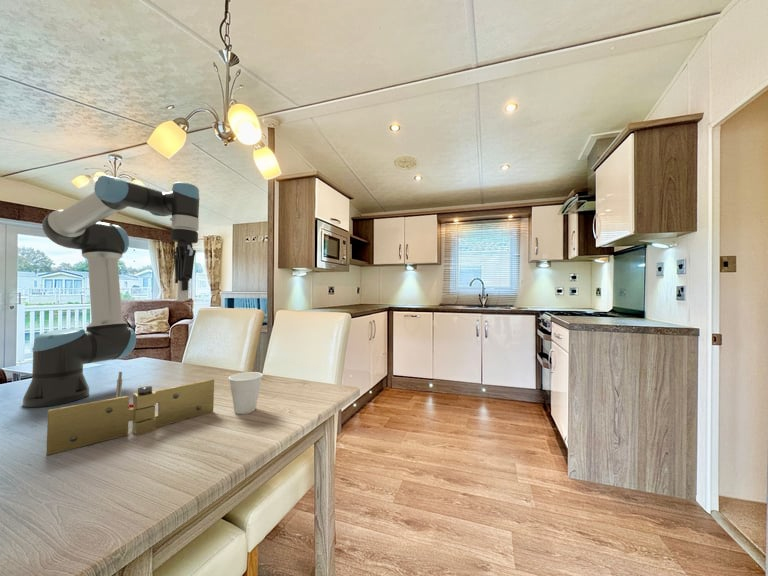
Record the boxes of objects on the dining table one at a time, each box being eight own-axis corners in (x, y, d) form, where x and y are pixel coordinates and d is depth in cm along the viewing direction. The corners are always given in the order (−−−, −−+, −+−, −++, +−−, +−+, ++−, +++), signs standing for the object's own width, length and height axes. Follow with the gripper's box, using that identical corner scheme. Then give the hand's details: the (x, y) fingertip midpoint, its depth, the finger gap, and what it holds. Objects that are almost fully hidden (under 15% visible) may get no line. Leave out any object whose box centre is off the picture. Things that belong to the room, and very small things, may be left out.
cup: (222, 410, 94) (223, 375, 94) (254, 402, 101) (254, 370, 101) (234, 420, 87) (235, 382, 87) (267, 410, 94) (268, 376, 94)
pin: (135, 428, 79) (136, 388, 79) (149, 425, 82) (150, 385, 82) (138, 432, 77) (139, 390, 78) (152, 428, 80) (153, 387, 80)
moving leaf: (47, 450, 68) (48, 408, 69) (151, 425, 82) (152, 389, 82) (45, 457, 66) (47, 413, 66) (154, 430, 79) (155, 393, 80)
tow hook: (132, 405, 98) (101, 415, 89) (135, 365, 99) (105, 371, 90) (154, 407, 97) (126, 418, 87) (157, 367, 97) (129, 373, 88)
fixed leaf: (132, 431, 79) (133, 393, 79) (209, 409, 94) (210, 378, 94) (136, 435, 77) (137, 396, 77) (215, 413, 92) (216, 380, 92)
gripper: (165, 230, 101) (163, 299, 101) (178, 225, 93) (176, 301, 93) (190, 234, 107) (188, 299, 107) (205, 229, 99) (203, 300, 98)
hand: (182, 300), depth 100 cm, fingers closed
